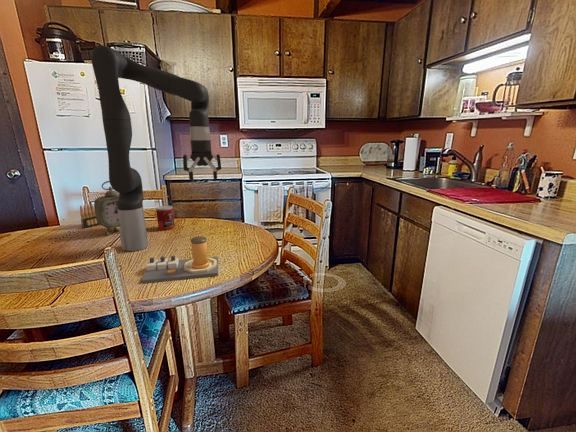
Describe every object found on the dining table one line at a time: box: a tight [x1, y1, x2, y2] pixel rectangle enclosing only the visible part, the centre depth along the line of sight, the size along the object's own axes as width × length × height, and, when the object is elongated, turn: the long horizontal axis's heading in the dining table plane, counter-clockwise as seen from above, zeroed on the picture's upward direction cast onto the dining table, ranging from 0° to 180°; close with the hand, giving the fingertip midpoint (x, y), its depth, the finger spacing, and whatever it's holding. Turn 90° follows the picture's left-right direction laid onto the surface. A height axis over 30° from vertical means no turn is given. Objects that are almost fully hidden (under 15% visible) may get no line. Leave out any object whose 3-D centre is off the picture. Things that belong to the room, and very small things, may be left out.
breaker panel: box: [141, 255, 219, 284], centre depth 104 cm, size 24×14×4 cm, turn 102°
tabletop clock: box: [93, 180, 120, 236], centre depth 142 cm, size 14×9×25 cm, turn 143°
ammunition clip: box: [79, 203, 101, 229], centre depth 153 cm, size 11×2×12 cm, turn 152°
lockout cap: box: [190, 236, 210, 269], centre depth 104 cm, size 6×6×10 cm
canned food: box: [155, 205, 176, 231], centre depth 149 cm, size 8×8×11 cm
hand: (203, 181), depth 118 cm, fingers open, 8 cm apart
